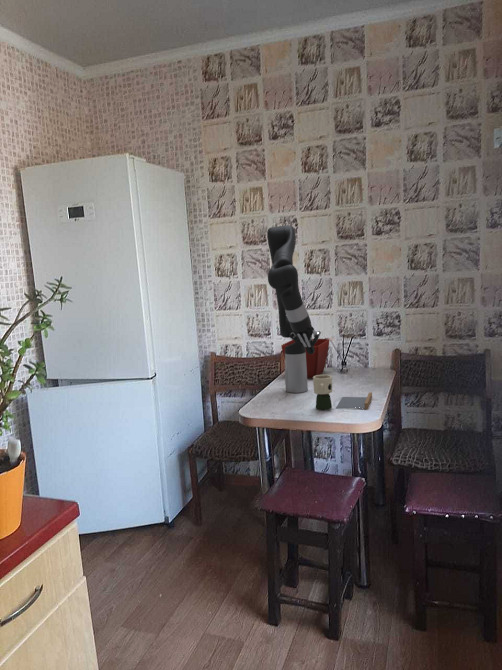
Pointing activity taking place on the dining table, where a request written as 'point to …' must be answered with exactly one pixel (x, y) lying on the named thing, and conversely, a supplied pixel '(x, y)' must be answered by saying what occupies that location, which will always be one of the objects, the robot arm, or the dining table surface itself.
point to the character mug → (323, 391)
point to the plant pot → (314, 357)
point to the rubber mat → (355, 402)
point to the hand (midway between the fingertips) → (311, 353)
